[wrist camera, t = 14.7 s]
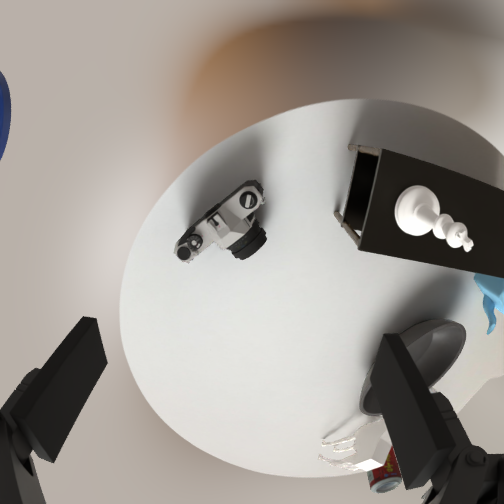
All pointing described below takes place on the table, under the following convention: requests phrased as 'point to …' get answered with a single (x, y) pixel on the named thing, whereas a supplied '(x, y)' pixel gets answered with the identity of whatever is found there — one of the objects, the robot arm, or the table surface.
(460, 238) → the chess piece
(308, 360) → the table surface
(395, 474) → the soda can
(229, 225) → the camera
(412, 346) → the bowl
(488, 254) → the rack
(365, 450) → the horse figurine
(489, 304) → the teapot
